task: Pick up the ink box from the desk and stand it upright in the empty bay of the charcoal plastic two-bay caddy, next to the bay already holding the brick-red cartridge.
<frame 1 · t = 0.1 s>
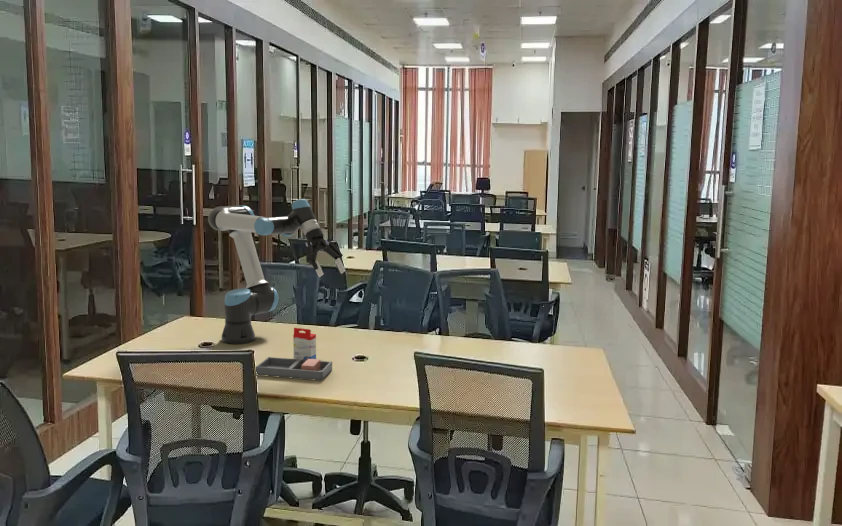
hand: (332, 274, 296), 36 cm above the table, tool tilted 35°, fingers open, 13 cm apart
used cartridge: (310, 373, 273), resting on caddy
caddy: (294, 372, 274), on the table
ink box: (304, 361, 290), on the table
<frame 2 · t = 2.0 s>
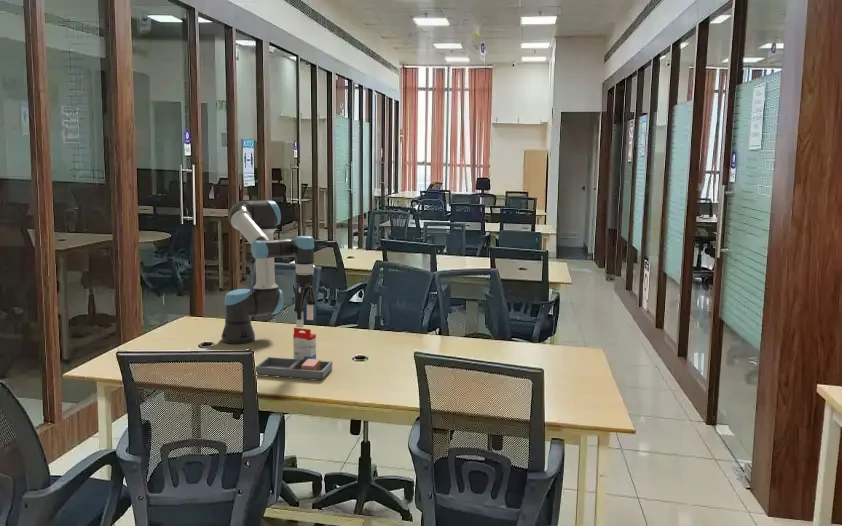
hand: (305, 323, 287), 16 cm above the table, tool pointing down, fingers open, 13 cm apart
nothing on the table moved.
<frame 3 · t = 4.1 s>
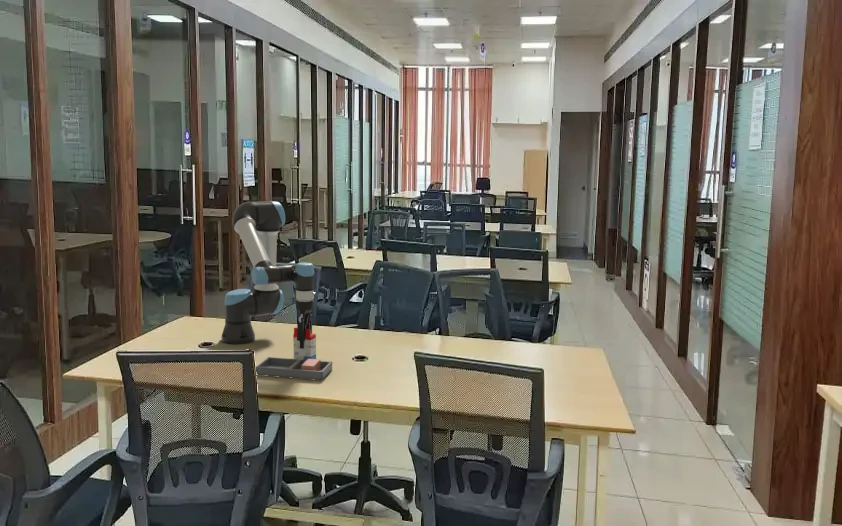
hand: (304, 353, 289), 3 cm above the table, tool pointing down, fingers closed on ink box, 5 cm apart
ink box: (304, 361, 290), on the table, touching gripper
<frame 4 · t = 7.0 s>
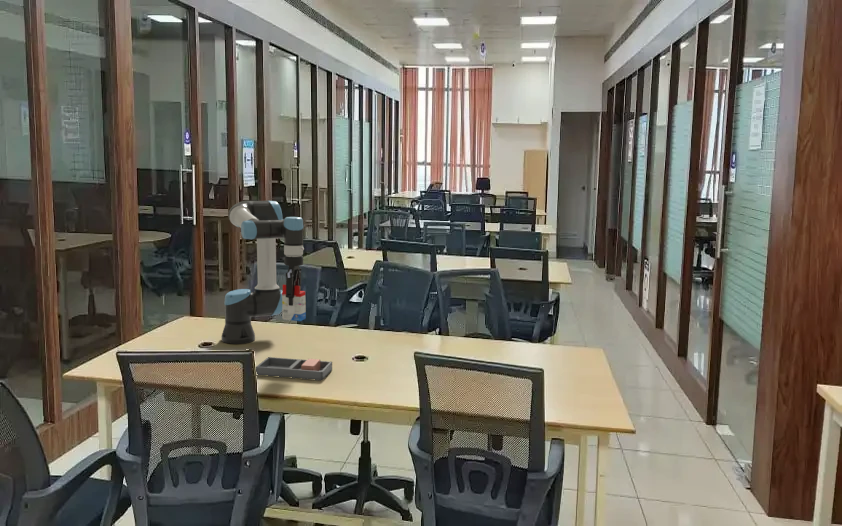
hand: (293, 311, 280), 23 cm above the table, tool pointing down, fingers closed on ink box, 5 cm apart
ink box: (294, 319, 280), point 19 cm above the table, touching gripper
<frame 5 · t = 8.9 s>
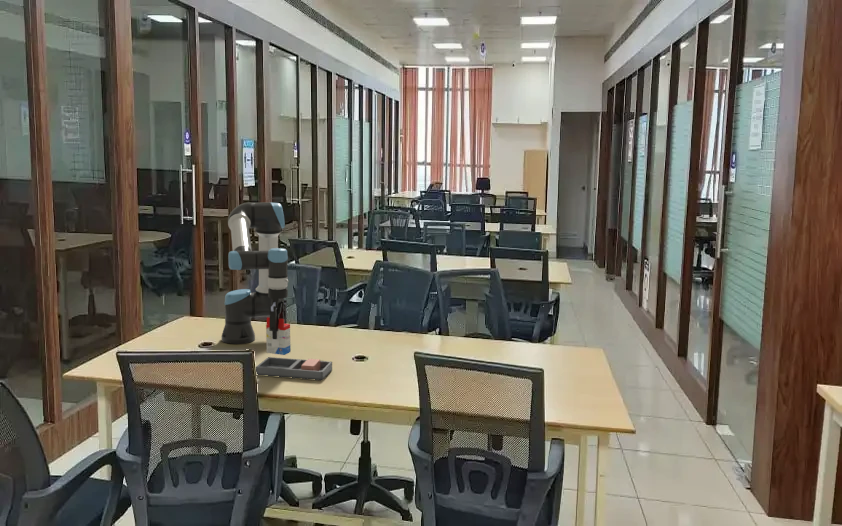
hand: (278, 344, 273), 11 cm above the table, tool pointing down, fingers closed on ink box, 5 cm apart
ink box: (278, 353, 274), point 8 cm above the table, touching gripper
when the fingers open (6 cm above the table, at t = 10.2 s): ink box drops 1 cm, resting on caddy.
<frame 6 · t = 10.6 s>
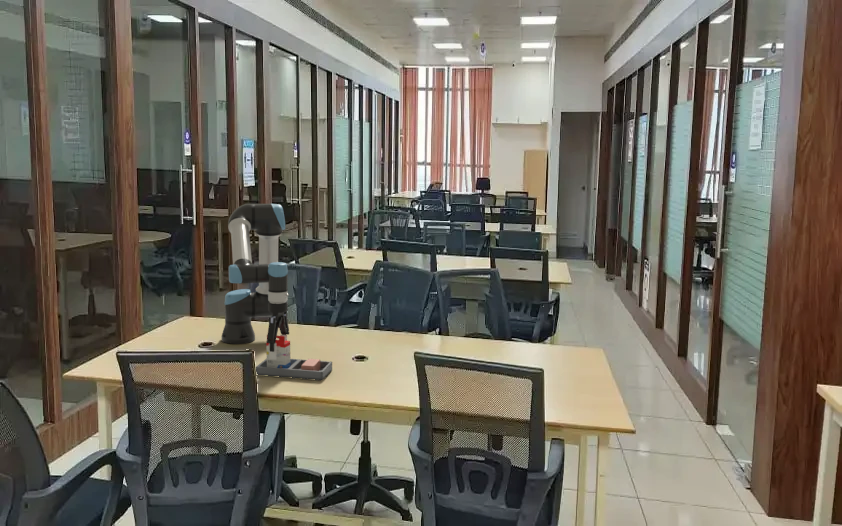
hand: (278, 354, 274), 7 cm above the table, tool pointing down, fingers open, 11 cm apart
ink box: (278, 369, 275), point 1 cm above the table, touching caddy
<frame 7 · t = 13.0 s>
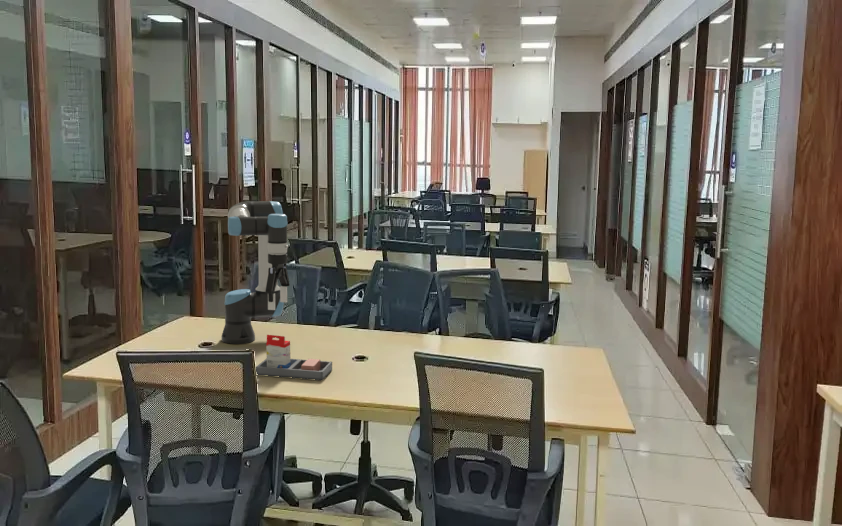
hand: (277, 305, 273), 27 cm above the table, tool pointing down, fingers open, 13 cm apart
nothing on the table moved.
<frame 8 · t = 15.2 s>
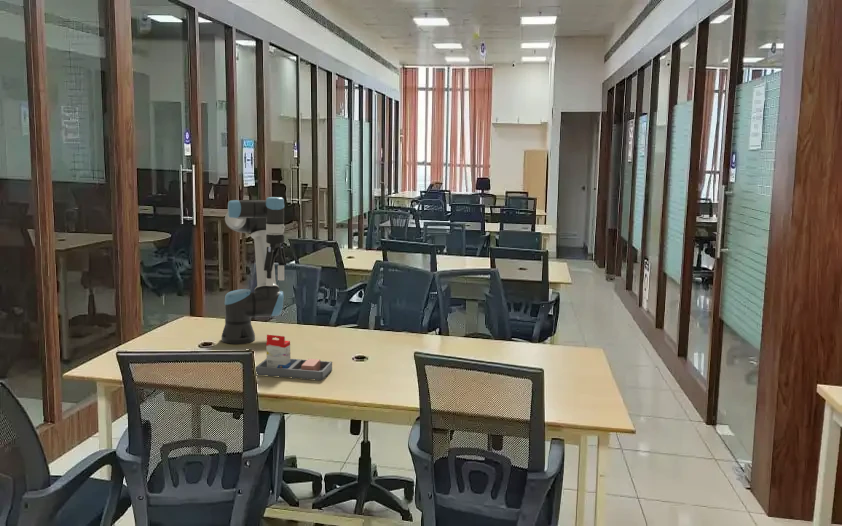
hand: (275, 283, 293), 32 cm above the table, tool pointing down, fingers open, 13 cm apart
nothing on the table moved.
at the end: ink box inside the target area on the caddy (0.0 cm from its centre), point 0.6 cm above the caddy's base; ink box tilted 0°; the gripper is holding nothing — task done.
